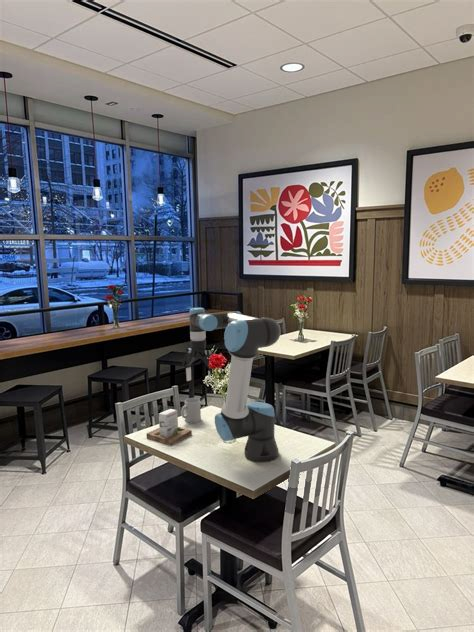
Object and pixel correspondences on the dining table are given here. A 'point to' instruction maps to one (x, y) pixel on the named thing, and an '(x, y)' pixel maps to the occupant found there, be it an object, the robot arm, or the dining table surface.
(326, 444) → the dining table surface
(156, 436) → the tray
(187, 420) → the mug
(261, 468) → the dining table surface
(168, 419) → the ink box
